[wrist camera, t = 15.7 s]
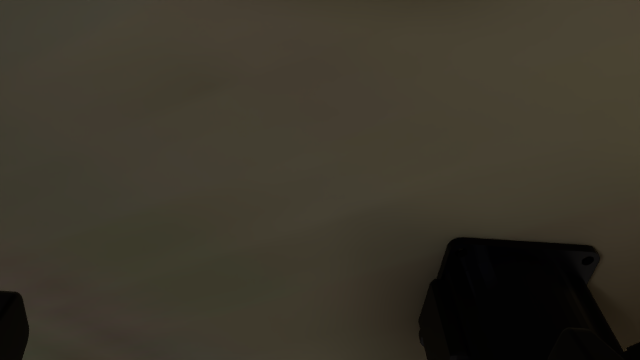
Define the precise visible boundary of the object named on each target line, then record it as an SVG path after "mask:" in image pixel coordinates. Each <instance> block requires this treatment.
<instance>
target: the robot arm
mask: <svg viewBox="0 0 640 360" xmlns="http://www.w3.org/2000/svg"><path fill="white" fill-rule="evenodd" d="M458 249H463V250H461V251H457V250H458ZM585 257H587V258H585ZM599 260H600V257H599V254H598V253H597V251H596V250H595V248H594V247H592V246H587V245H571V244H556V243H540V242H524V241H508V240H493V239H477V238H456V239H453V240H452V241H450V242H449V244H448V245H447V248H446V251H445V254H444V257H443V260H442V263H441V267H440V270H439V273H438V276H437V279H434V280H433V281H432V282H431V283H430V286H429V289H428V292H427V295H426V298H425V301H424V304H423V308H422V311H421V314H420V317H419V325H420V331H419V339H420V343H421V345H422V346H424V347H425V352H426V356H427V360H640V342H639V343H637V344H634V345H632V346H630V347H627V350H628V351H625V352H624V351H623V349H622V348H621V346H620V344H619V342H618V341H617V339H616V337H615V335H614V333H613V332H612V330H611V328H610V326H609V324H608V323H607V321H606V319H605V317H604V316H603V314H602V312H601V310H600V308H599V307H598V305H597V303H596V301H595V299H594V298H593V296H592V294H591V292H590V290H589V289H588V287H587V283H588V281H589V279H590V277H591V276H592V274H593V272H594V270H595V268H596V266H597V264H598V262H599ZM28 336H29V325H28V321H27V316H26V312H25V307H24V303H23V299H22V296H21V295H20V294H19V293H18V292H12V291H0V360H22V358H23V354H24V351H25V348H26V345H27V341H28Z"/></svg>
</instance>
